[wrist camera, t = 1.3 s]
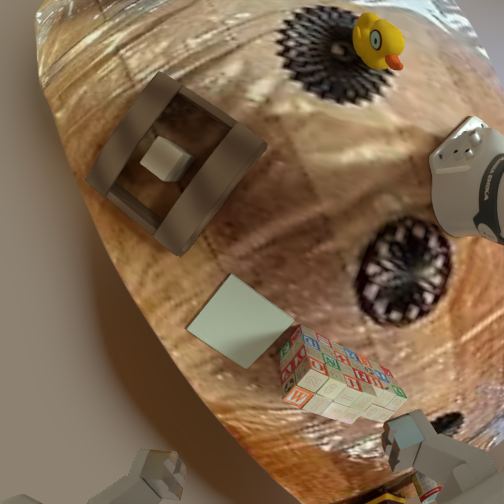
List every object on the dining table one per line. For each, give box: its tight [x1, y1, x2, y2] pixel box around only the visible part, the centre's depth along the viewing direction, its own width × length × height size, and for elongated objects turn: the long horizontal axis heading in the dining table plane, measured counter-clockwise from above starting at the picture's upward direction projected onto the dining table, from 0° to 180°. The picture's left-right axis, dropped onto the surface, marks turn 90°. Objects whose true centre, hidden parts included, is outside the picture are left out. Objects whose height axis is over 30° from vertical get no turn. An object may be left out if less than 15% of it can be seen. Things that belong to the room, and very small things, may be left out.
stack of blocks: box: [279, 324, 407, 424], centre depth 39 cm, size 21×6×12 cm, turn 59°
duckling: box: [353, 13, 405, 70], centre depth 28 cm, size 11×5×10 cm, turn 10°
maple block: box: [140, 136, 196, 181], centre depth 35 cm, size 4×4×7 cm
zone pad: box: [187, 273, 294, 369], centre depth 43 cm, size 12×12×1 cm
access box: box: [85, 71, 267, 258], centre depth 36 cm, size 18×18×5 cm
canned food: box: [412, 471, 442, 504], centre depth 50 cm, size 8×8×12 cm
